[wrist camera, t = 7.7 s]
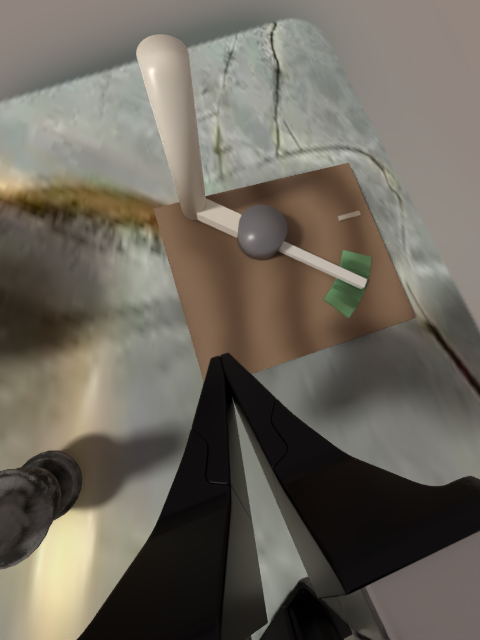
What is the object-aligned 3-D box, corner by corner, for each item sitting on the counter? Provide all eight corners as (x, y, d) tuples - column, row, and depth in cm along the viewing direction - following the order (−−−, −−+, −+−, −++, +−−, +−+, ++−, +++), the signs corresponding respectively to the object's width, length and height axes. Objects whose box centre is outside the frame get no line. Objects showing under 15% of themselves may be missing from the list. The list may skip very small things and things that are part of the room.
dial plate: (207, 387, 20) (205, 389, 19) (156, 215, 22) (152, 207, 21) (407, 319, 22) (417, 317, 21) (343, 170, 24) (349, 161, 23)
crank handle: (173, 222, 21) (115, 76, 10) (193, 186, 21) (161, 13, 10) (354, 305, 21) (498, 252, 10) (368, 266, 21) (516, 177, 11)
